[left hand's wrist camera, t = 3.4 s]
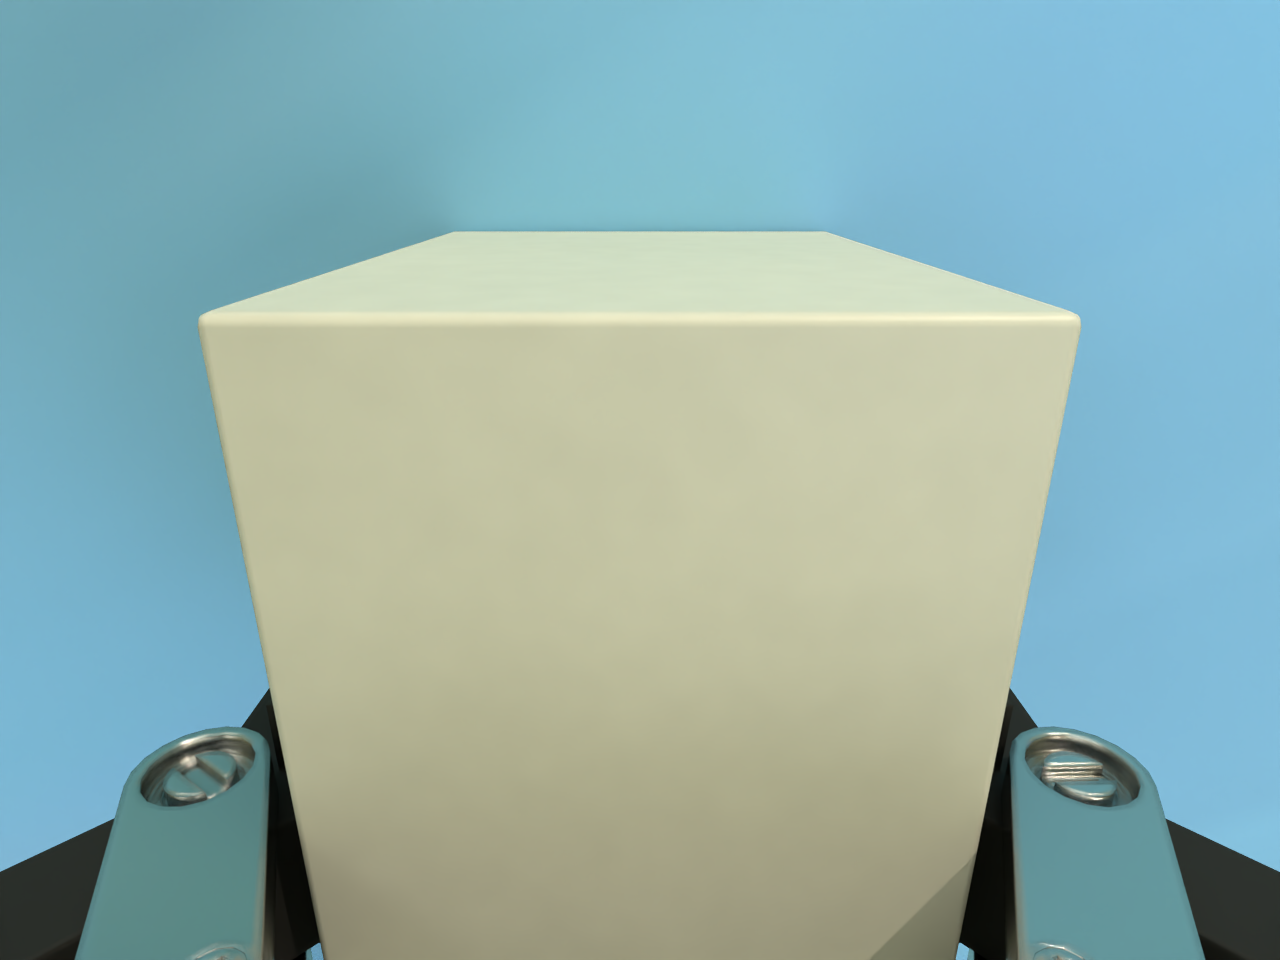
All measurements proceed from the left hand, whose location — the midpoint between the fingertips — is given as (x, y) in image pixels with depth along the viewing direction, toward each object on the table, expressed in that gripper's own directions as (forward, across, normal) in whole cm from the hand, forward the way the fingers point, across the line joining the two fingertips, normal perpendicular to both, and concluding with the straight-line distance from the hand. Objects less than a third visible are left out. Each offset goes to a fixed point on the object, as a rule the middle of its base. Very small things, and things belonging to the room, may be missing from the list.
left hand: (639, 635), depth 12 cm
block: (+3, 0, -24) cm, 24 cm away
